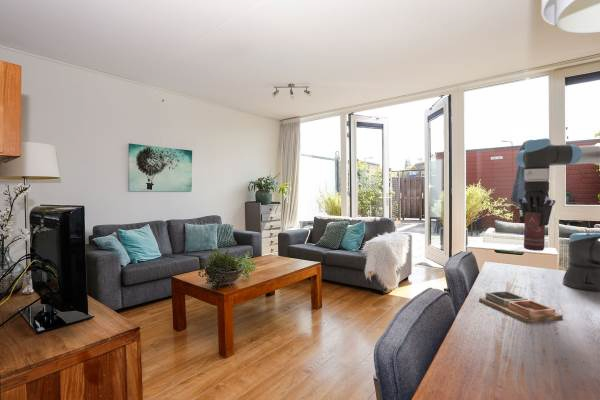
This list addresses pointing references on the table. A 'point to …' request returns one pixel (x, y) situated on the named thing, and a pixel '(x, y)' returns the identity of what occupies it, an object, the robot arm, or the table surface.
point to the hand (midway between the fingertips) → (535, 243)
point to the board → (520, 307)
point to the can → (533, 232)
